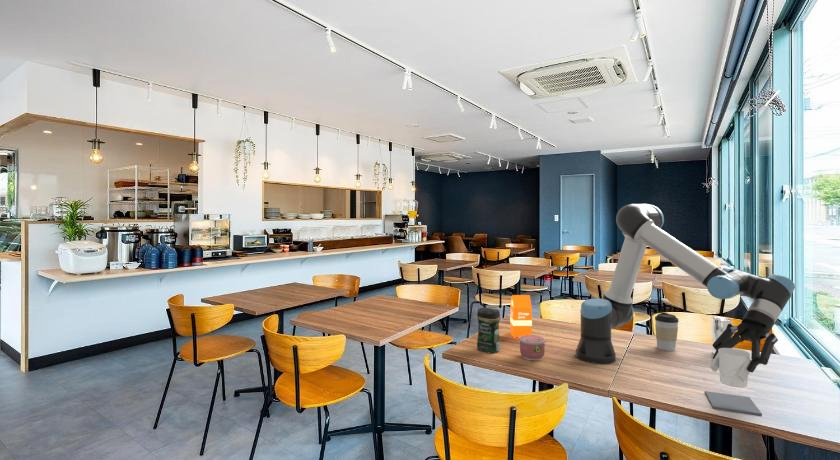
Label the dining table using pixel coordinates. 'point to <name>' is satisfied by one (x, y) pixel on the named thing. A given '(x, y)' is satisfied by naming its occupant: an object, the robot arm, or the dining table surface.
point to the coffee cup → (666, 331)
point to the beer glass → (719, 327)
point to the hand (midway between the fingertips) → (726, 373)
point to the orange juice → (520, 316)
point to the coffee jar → (488, 330)
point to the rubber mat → (732, 403)
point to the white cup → (732, 366)
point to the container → (532, 347)
